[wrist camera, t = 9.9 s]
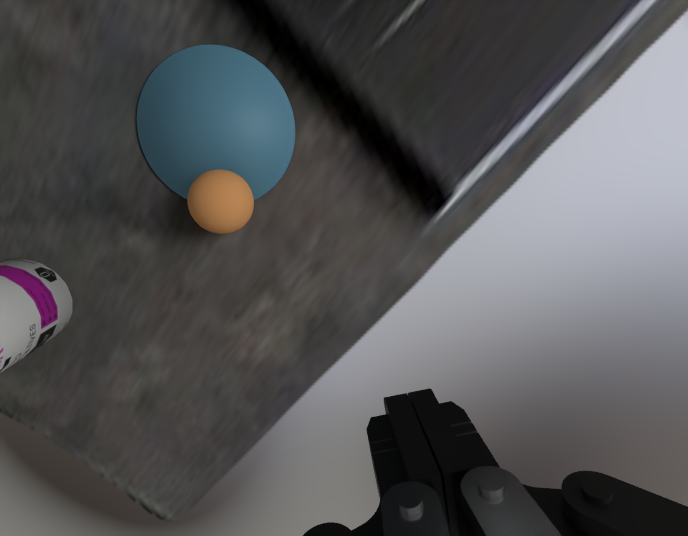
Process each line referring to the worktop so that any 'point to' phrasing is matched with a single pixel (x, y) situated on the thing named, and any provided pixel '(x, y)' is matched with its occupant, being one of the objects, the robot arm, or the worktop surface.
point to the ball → (220, 201)
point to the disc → (215, 119)
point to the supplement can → (30, 308)
